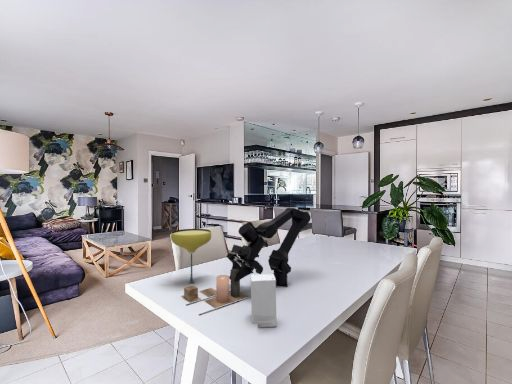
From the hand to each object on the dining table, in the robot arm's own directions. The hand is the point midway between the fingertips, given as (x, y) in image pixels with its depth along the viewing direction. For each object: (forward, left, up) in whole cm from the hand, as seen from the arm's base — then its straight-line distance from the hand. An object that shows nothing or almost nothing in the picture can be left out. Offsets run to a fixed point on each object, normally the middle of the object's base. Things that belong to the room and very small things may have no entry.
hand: (232, 280), depth 105 cm
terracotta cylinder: (+3, +3, -7) cm, 8 cm away
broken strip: (+13, -1, -8) cm, 15 cm away
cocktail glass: (+22, -14, -8) cm, 27 cm away
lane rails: (+4, +4, -8) cm, 10 cm away
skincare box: (-13, +17, -8) cm, 23 cm away
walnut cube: (+16, +2, -7) cm, 18 cm away
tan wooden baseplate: (+2, +2, -8) cm, 8 cm away
